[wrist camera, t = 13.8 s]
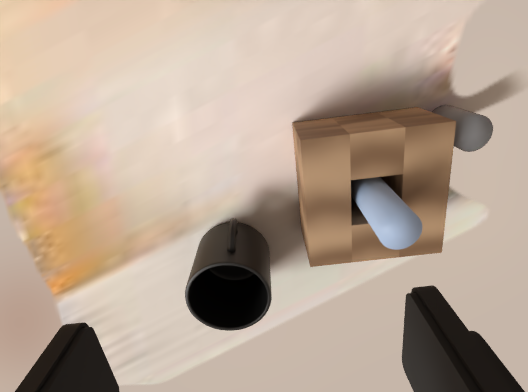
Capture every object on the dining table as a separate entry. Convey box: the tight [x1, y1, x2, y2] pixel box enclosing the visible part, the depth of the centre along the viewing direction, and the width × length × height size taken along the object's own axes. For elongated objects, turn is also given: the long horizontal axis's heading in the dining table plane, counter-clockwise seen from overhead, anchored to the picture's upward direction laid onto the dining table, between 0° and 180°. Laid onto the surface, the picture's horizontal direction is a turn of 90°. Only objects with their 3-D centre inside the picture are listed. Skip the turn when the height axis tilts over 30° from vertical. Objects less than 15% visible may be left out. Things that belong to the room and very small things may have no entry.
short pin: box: [432, 105, 493, 152], centre depth 35 cm, size 4×4×6 cm
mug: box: [185, 219, 271, 330], centre depth 40 cm, size 9×12×9 cm
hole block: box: [292, 107, 456, 267], centre depth 36 cm, size 14×14×8 cm
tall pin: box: [351, 177, 422, 250], centre depth 34 cm, size 4×4×14 cm
